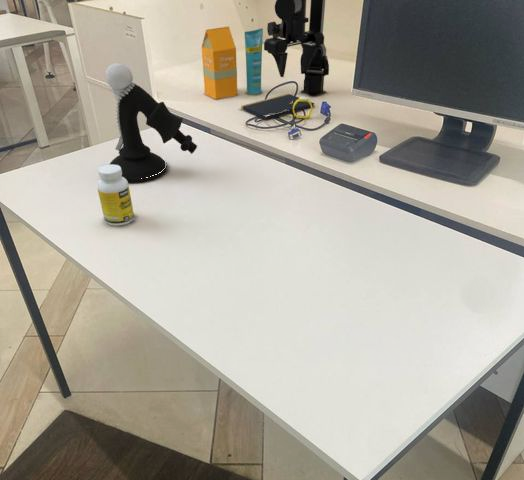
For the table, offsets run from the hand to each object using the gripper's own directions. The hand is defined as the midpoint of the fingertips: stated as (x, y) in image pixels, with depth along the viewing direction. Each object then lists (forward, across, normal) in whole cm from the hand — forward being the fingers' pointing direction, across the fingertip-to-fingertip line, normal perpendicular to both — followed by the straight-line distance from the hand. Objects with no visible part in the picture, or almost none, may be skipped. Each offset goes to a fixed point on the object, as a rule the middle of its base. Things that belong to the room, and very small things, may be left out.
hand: (293, 74), depth 158 cm
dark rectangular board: (+12, -2, -9) cm, 15 cm away
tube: (+12, -6, -26) cm, 30 cm away
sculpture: (+12, +54, +8) cm, 57 cm away
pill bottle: (+12, +74, +26) cm, 79 cm away
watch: (+12, -2, +3) cm, 13 cm away
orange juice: (+12, +4, -32) cm, 35 cm away
